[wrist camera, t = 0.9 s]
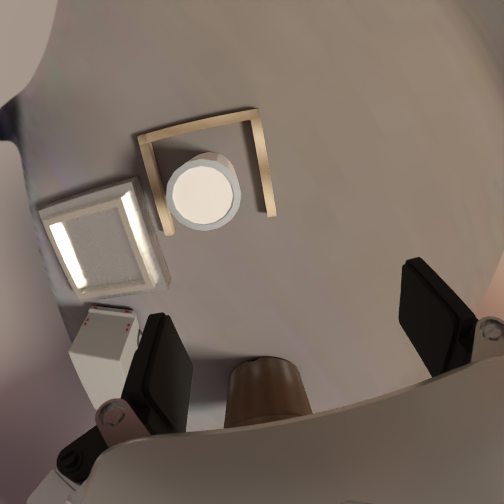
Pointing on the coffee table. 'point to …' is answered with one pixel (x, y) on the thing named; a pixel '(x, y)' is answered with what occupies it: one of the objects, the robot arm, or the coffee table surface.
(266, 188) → the cradle
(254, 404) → the plant pot
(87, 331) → the toy vehicle
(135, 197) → the plate
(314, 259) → the coffee table surface
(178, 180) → the white cup
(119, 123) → the coffee table surface
